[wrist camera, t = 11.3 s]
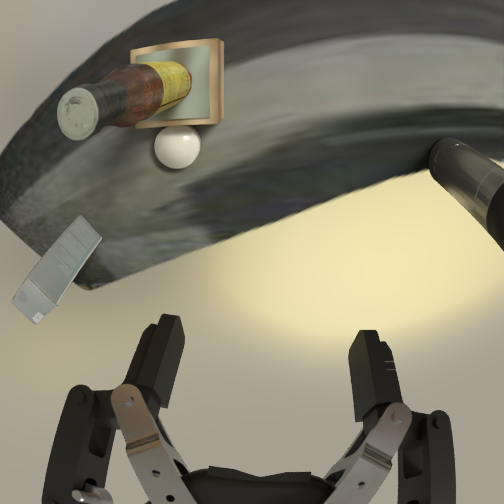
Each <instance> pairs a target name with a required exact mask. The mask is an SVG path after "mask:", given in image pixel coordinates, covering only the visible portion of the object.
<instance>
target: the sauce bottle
mask: <svg viewBox="0 0 504 504" xmlns="http://www.w3.org/2000/svg"><path fill="white" fill-rule="evenodd" d="M191 87H192V75H191V73H190V71H189V70H188V69H187V68H186V67H185V66H184V65H183V64H180V63H177V62H173V61H156V62H141V63H131V64H126V65H123V66H120V67H118V68H116V69H115V70H113V71H112V72H111V73H110V74H108V75H107V76H106V77H105V78H104V79H103V80H101V81H100V82H99V83H96V84H93V85H92V84H83V85H79V86H77V87H74V88H72V89H70V90H69V91H67V92H66V93H65V94H64V96H63V97H62V99H61V100H60V102H59V105H58V109H57V118H58V123H59V126H60V128H61V130H62V132H63V134H65V136H66V137H68V138H70V139H72V140H76V141H80V140H85V139H87V138H89V137H91V136H93V135H95V134H96V133H98V132H99V131H100V130H101V129H102V127H104V126H106V125H111V126H116V127H130V126H132V125H135V124H137V123H138V122H140V121H143V120H146V119H148V118H150V117H152V116H154V115H156V114H158V113H160V112H162V111H164V110H166V109H168V108H170V107H172V106H174V105H176V104H178V103H179V102H181V101H182V100H183V99H184V98H185V97H186V96H187V95H188V94H189V92H190V90H191Z"/></svg>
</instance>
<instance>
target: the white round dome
mask: <svg viewBox="0 0 504 504" xmlns="http://www.w3.org/2000/svg"><path fill="white" fill-rule="evenodd" d="M154 147H155V153H156V155H157V157H158V159H159V160H160V161H161V162H162V163H163V164H164V165H166V166H167V167H170V168H174V169H180V168H184V167H187V166H188V165H190V164H191V163H192V162H193V161H194V160H195V158H196V157H197V156H198V154H199V153H200V150H201V138H200V135H199V133H198V132H197V130H196V129H195V128H194V127H192V126H191V125H177V126H168V127H166V128H164V129H163V130H162V131H161V132H160V133H159V134H158V135H157V137H156V140H155V145H154Z"/></svg>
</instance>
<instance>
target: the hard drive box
mask: <svg viewBox="0 0 504 504" xmlns="http://www.w3.org/2000/svg"><path fill="white" fill-rule="evenodd" d="M101 240H102V237H101V236H100V235H99V234H98V233H97V232H96V231H95V230H94V228H93V227H92V226H91V225H90V224H89V223H88V222H87V221H86V219H85V218H84V217H83V216H82V215H79V216H78V217H77V218H76V219H75V220H74V221H73V222H72V223H71V224H70V225H69V227H68V228H67V229H66V230H65V231H64V232H63V233H62V234H61V235H60V237H59V238H58V239H57V240H56V241H55V242H54V244H53V245H52V246H51V247H50V248H49V250H48V251H47V252H46V253H45V254H44V256H43V257H42V258H41V259H40V261H39V262H38V263H37V264H36V266H35V267H34V268H33V269H32V271H31V272H30V273H29V275H28V276H27V277H26V279H25V280H24V282H23V284H22V285H21V286H20V288H19V289H18V291H17V292H16V294H15V296H14V297H13V299H12V303H13V304H14V306H15V307H16V308H18V310H19V311H21V312H22V313H23V314H24V315H25V316H26V317H27V318H28V319H29V320H30V321H31V322H32V323H33V324H35V325H36V324H37V323H38V322H39V321H40V320H42V319H43V318H44V317H45V316H46V315H47V314H48V313H50V312H51V311H52V310H53V309H54V308H55V307H57V306H58V304H59V302H60V301H61V299H62V297H63V296H64V294H65V292H66V291H67V289H68V287H69V286H70V284H71V283H72V281H73V280H74V278H75V277H76V275H77V274H78V272H79V271H80V269H81V268H82V266H83V265H84V263H85V262H86V260H87V259H88V258H89V256H90V255H91V253H92V252H93V251H94V249H95V248H96V246H97V245H98V244H99V242H100V241H101Z"/></svg>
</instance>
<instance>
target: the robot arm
mask: <svg viewBox="0 0 504 504" xmlns="http://www.w3.org/2000/svg"><path fill="white" fill-rule="evenodd" d="M429 170H430V173H431V176H432V177H433V179H434V180H436V181H437V182H438V183H439V184H440V185H441V186H442V187H443V188H444V189H445V190H446V191H447V192H449V193H450V194H451V195H452V196H453V197H454V198H455V199H456V200H457V201H458V202H459V203H460V204H461V205H462V206H463V207H464V208H465V209H466V210H467V211H468V212H469V213H470V214H471V215H472V216H473V217H474V218H475V219H476V220H477V221H478V222H479V223H480V224H481V225H482V226H483V227H484V228H485V230H486V231H487V232H488V233H489V234H490V235H491V236H492V238H493V239H494V240H495V241H496V242H497V244H498V245H499V246H500V247H501V249H502V250H503V251H504V169H503V168H502V167H501V166H499V165H498V164H496V163H495V162H493V161H492V160H490V159H489V158H487V157H485V156H484V155H482V154H481V153H479V152H477V151H476V150H474V149H473V148H471V147H469V146H468V145H466V144H464V143H462V142H461V141H459V140H457V139H455V138H452V137H446V138H443V139H441V140H439V141H438V142H437V143H436V144H435V145H434V146H433V148H432V150H431V153H430V156H429ZM184 344H185V335H184V331H183V327H182V323H181V319H180V317H179V316H176V315H168V314H162V315H161V317H160V320H159V322H158V325H156V324H150V325H149V326H148V327H147V328H146V329H145V330H144V332H143V334H142V336H141V339H140V341H139V344H138V346H137V349H136V352H135V354H134V356H133V359H132V362H131V364H130V367H129V370H128V372H127V375H126V378H125V380H124V382H123V383H122V384H121V385H120V386H118V387H116V388H115V389H113V390H101V391H92V390H91V389H90V388H89V387H87V386H85V385H77V386H75V387H73V388H72V389H71V390H70V392H69V393H68V396H67V399H66V402H65V405H64V408H63V411H62V414H61V417H60V421H59V424H58V427H57V431H56V434H55V438H54V442H53V446H52V450H51V454H50V458H49V463H48V467H47V472H46V477H45V482H44V488H43V494H42V504H113V499H112V497H111V495H110V493H109V492H108V491H107V490H105V489H104V487H105V481H106V476H107V471H108V465H109V460H110V455H111V450H112V446H113V441H114V437H115V432H116V429H121V431H122V434H123V436H124V439H125V441H126V445H127V446H126V453H127V456H128V458H129V460H130V462H131V465H132V467H133V469H134V471H135V473H136V475H137V477H138V479H139V481H140V483H141V485H142V487H143V489H144V491H145V492H146V494H147V496H148V498H149V501H148V502H147V503H145V504H368V503H369V502H370V500H371V499H372V497H373V496H374V495H375V493H376V492H377V490H378V489H379V487H380V486H381V484H382V483H383V481H384V480H385V478H386V477H387V475H388V473H389V472H390V470H391V468H392V463H391V460H392V458H393V456H394V454H395V452H396V451H397V449H398V504H456V476H455V458H454V447H453V438H452V430H451V423H450V418H449V416H448V415H447V414H446V413H445V412H444V411H441V410H436V411H434V412H432V413H431V414H424V413H418V412H414V411H411V410H410V409H409V407H408V406H407V405H405V404H404V403H403V400H402V396H401V391H400V386H399V381H398V377H397V372H396V370H395V369H396V368H395V364H394V359H393V355H392V351H391V349H390V348H389V346H388V345H387V343H386V342H385V341H382V342H380V340H379V336H378V332H377V331H376V330H360V331H359V332H358V334H357V336H356V338H355V340H354V342H353V343H352V345H351V347H350V350H349V356H348V359H349V367H350V376H351V384H352V392H353V402H354V412H355V422H362V421H363V428H362V429H361V431H360V432H359V434H358V435H357V437H356V438H355V440H354V441H353V443H352V444H351V445H350V447H349V448H348V450H347V451H346V452H345V454H344V455H343V456H342V458H341V459H340V460H339V461H338V462H337V463H336V464H335V465H334V466H333V467H332V468H331V469H330V470H329V471H328V473H327V474H326V475H325V476H324V478H323V479H322V478H320V477H317V476H314V475H311V472H285V473H280V474H275V475H270V476H265V477H257V476H254V475H250V474H247V473H244V472H241V471H238V470H235V469H228V468H221V467H214V466H209V468H208V469H200V470H196V471H193V472H190V471H189V469H188V468H187V466H186V464H185V463H184V461H183V459H182V458H181V456H180V454H179V453H178V452H177V450H176V449H175V447H174V445H173V444H172V442H171V440H170V438H169V436H168V434H167V432H166V430H165V428H164V426H163V424H162V422H161V420H160V418H159V416H158V413H159V410H160V407H162V408H168V404H169V400H170V395H171V392H172V389H173V385H174V381H175V377H176V374H177V370H178V366H179V363H180V359H181V356H182V352H183V348H184ZM358 486H359V487H358Z"/></svg>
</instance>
